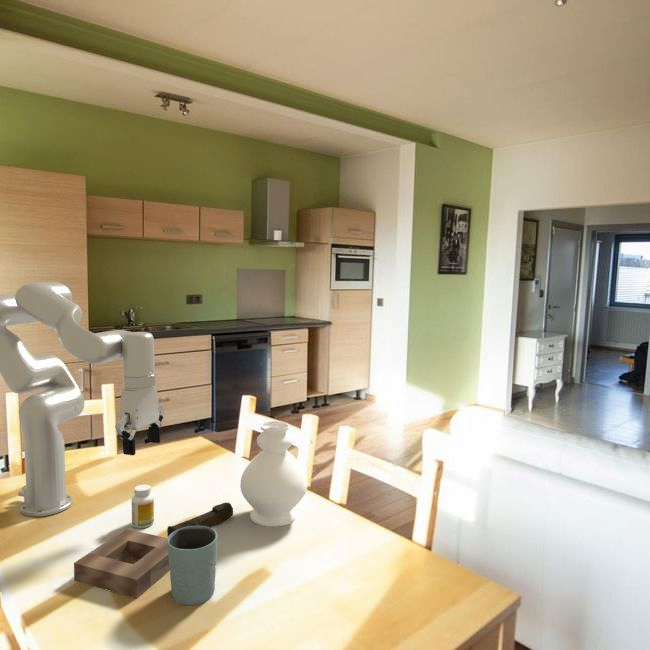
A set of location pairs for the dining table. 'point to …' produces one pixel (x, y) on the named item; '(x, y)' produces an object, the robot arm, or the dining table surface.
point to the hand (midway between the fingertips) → (142, 448)
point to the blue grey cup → (192, 564)
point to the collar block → (120, 576)
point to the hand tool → (207, 518)
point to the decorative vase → (274, 478)
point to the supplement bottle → (142, 507)
